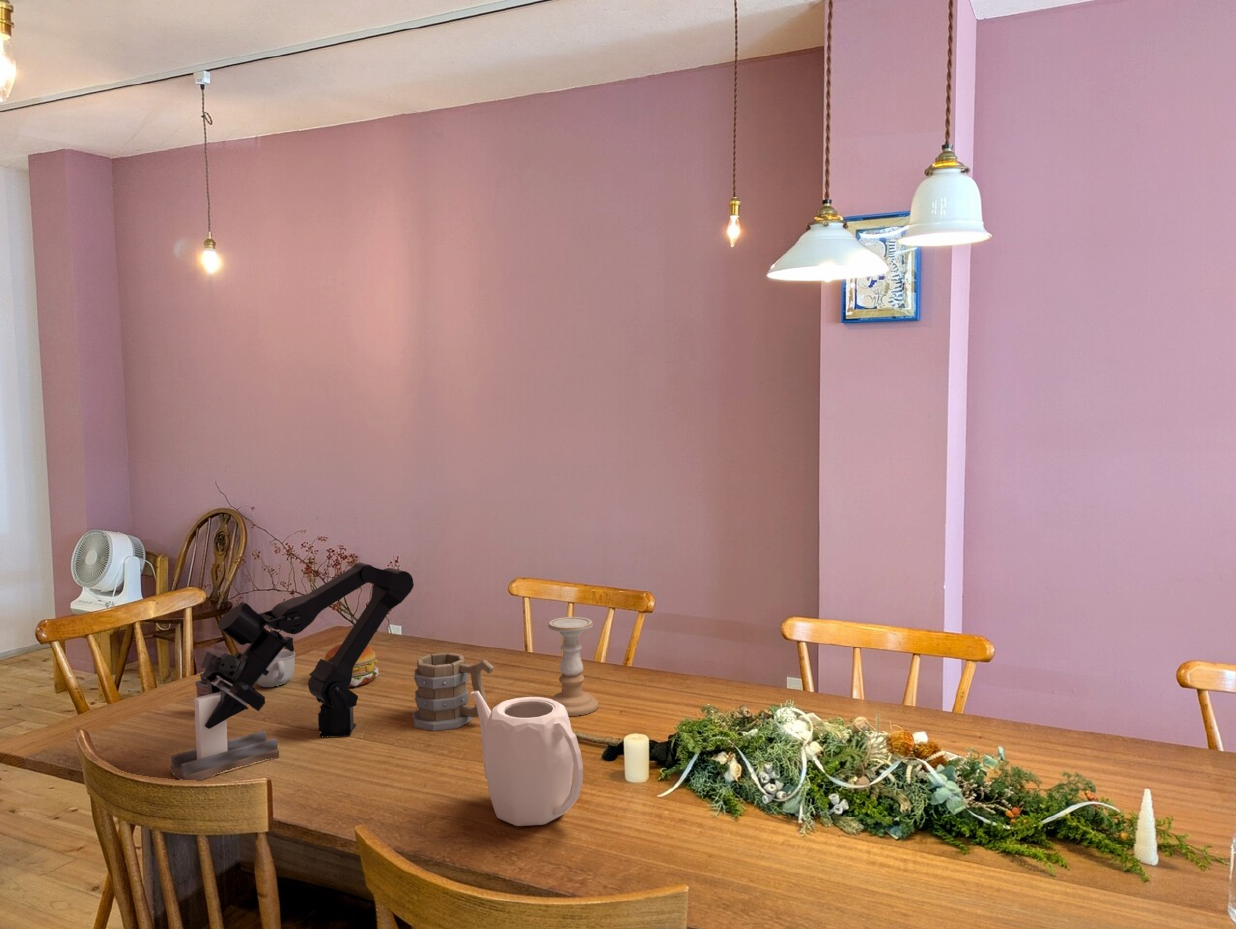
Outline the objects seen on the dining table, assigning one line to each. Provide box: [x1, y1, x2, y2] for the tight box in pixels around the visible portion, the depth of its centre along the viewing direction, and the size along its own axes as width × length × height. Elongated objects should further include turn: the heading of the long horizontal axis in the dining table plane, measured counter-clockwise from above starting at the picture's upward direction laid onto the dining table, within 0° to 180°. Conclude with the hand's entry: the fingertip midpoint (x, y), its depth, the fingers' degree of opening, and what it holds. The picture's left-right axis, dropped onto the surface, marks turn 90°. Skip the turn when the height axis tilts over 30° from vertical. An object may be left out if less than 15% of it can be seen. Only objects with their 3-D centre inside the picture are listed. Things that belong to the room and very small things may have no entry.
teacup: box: [255, 649, 296, 688], centre depth 224 cm, size 14×11×8 cm
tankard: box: [412, 652, 495, 732], centre depth 197 cm, size 20×13×15 cm, turn 62°
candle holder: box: [547, 616, 600, 717], centre depth 205 cm, size 12×12×20 cm
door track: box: [170, 730, 280, 781], centre depth 176 cm, size 18×8×4 cm, turn 134°
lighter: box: [195, 671, 211, 698], centre depth 204 cm, size 8×3×10 cm, turn 62°
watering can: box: [470, 690, 584, 827], centre depth 154 cm, size 16×27×19 cm, turn 50°
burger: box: [323, 643, 379, 688], centre depth 227 cm, size 14×14×10 cm
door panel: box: [193, 692, 228, 759], centre depth 173 cm, size 5×2×13 cm, turn 134°
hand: (203, 725), depth 173 cm, fingers open, 3 cm apart
